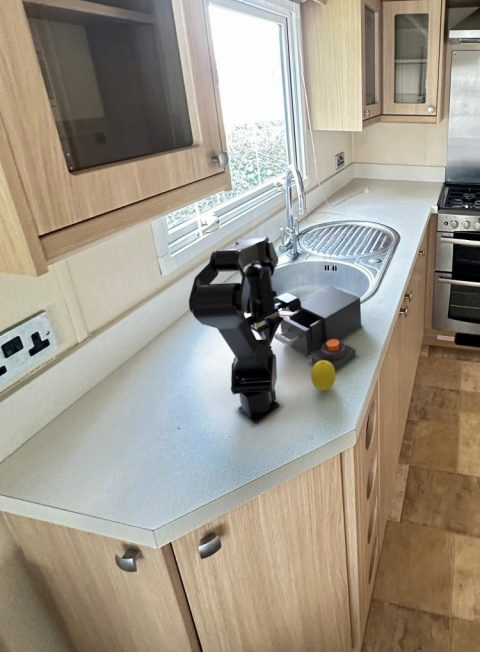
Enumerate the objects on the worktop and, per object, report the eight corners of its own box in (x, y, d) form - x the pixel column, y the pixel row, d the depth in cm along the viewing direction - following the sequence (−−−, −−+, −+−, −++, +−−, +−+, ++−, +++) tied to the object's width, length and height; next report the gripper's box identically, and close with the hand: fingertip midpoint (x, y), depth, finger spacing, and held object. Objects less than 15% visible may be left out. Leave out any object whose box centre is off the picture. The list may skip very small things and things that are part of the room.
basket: (296, 364, 102) (293, 338, 99) (270, 349, 108) (267, 324, 105) (342, 334, 114) (340, 310, 111) (316, 322, 120) (314, 299, 117)
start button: (333, 353, 101) (332, 348, 101) (324, 349, 103) (323, 343, 103) (342, 347, 104) (341, 341, 103) (333, 343, 106) (332, 337, 105)
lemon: (314, 400, 92) (311, 371, 89) (311, 384, 97) (308, 356, 94) (338, 395, 93) (336, 366, 90) (334, 379, 98) (332, 351, 95)
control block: (331, 374, 99) (330, 361, 98) (311, 363, 104) (310, 350, 102) (355, 356, 106) (355, 343, 104) (336, 346, 110) (336, 334, 109)
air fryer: (327, 349, 109) (325, 318, 106) (299, 333, 116) (296, 304, 112) (361, 326, 119) (360, 297, 115) (333, 313, 126) (331, 286, 122)
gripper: (271, 266, 106) (278, 318, 111) (203, 294, 92) (215, 351, 98) (299, 277, 99) (305, 332, 105) (231, 309, 86) (241, 369, 91)
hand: (267, 345), depth 100 cm, fingers closed
